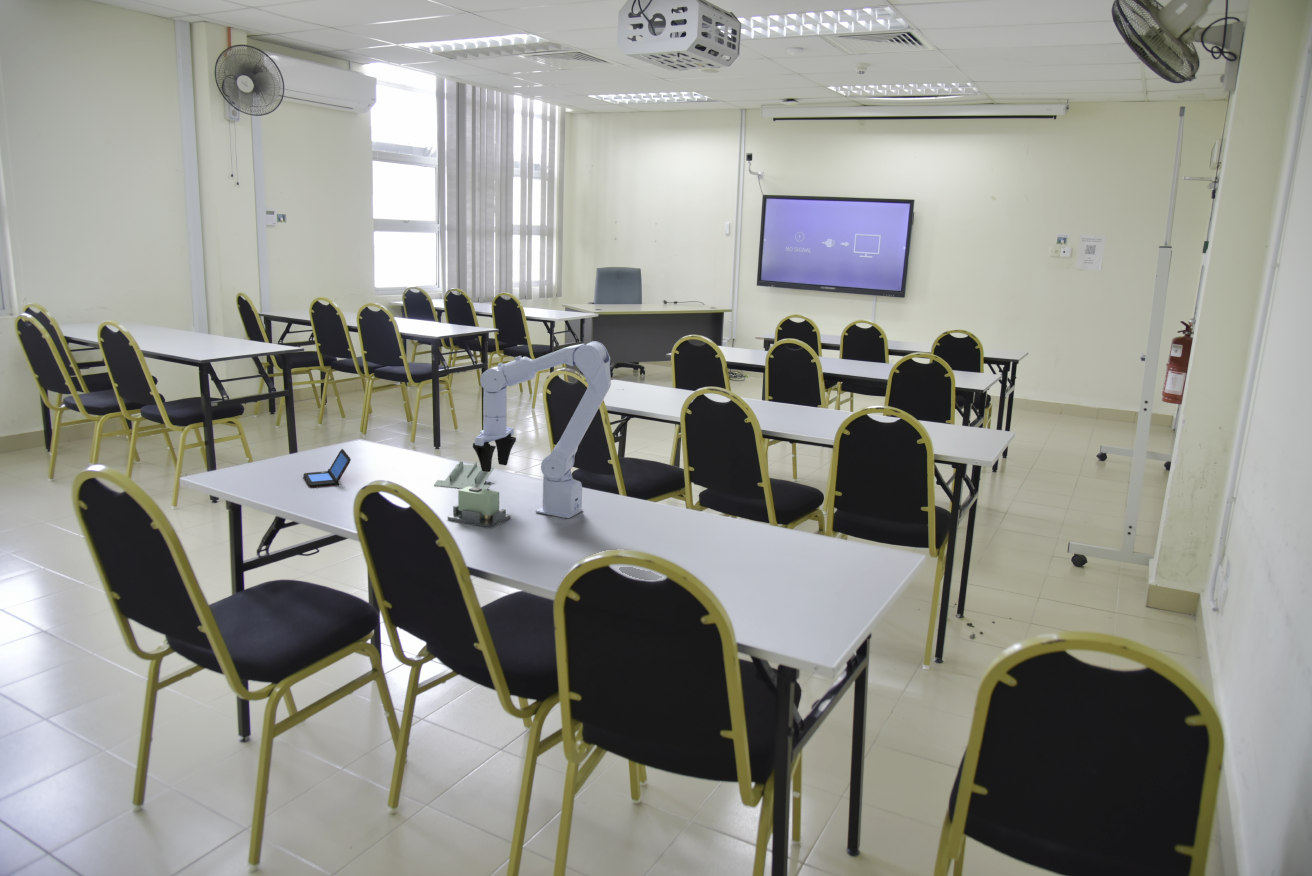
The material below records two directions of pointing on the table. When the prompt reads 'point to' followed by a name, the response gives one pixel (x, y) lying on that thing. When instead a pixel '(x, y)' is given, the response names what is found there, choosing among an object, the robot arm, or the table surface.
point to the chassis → (478, 517)
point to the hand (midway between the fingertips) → (494, 467)
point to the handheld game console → (329, 472)
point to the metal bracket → (465, 477)
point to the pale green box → (478, 500)
